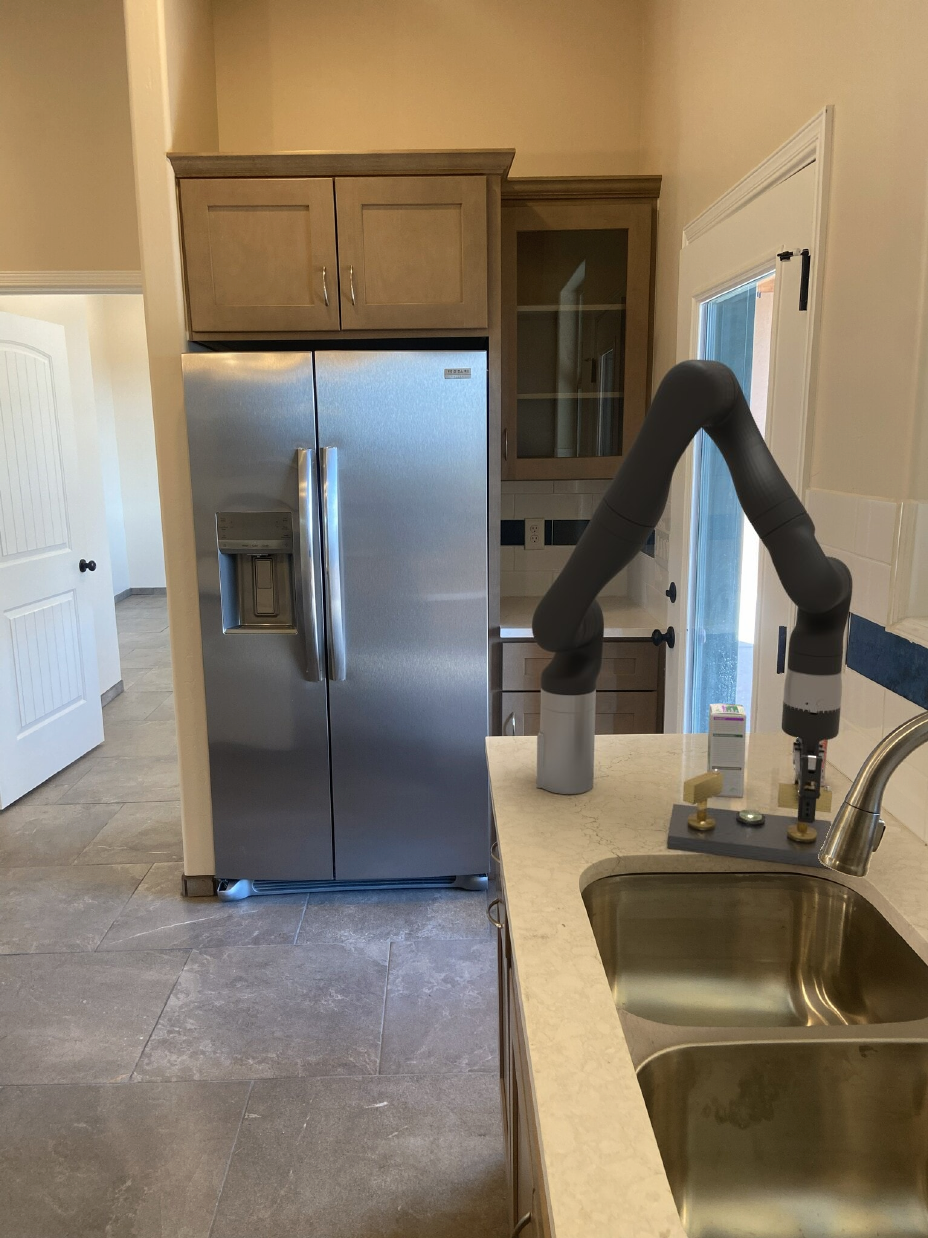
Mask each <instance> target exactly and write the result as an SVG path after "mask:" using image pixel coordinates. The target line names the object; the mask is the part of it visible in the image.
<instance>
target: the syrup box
mask: <svg viewBox="0 0 928 1238" xmlns="http://www.w3.org/2000/svg"><path fill="white" fill-rule="evenodd" d="M746 729H747V714H746V710H745V708H744V705H742V704H736V703H735V704H734V703H710V704H709V714H708V732H707V733H708V734H707V735H708V738H707V739H708V740H707V741H708V742H707V761H706V762H707V764H706V765H707V766H706V773H707V772H710V771H712V770H713V769H718V770H719V772H720V773H723V782H722V793H720V794H718V795H715V796H714V797H725V798H726V797H727V798H741V799H742V798H743V797H744V783H745V764H746V737H747V736H746V734H747V733H746V732H747V731H746Z"/></svg>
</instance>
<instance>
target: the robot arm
mask: <svg viewBox="0 0 928 1238" xmlns="http://www.w3.org/2000/svg"><path fill="white" fill-rule="evenodd" d="M701 429H702V430H703V431H704V432H705V434H707V435H708V437H709V438H710V439H711V440H712V442H713V443H714V444H715V446H716V447H717V448H718V450H719V452H720V453H721V456H722V458H723V459H724V462H725V464H726V465H727V468H728V471H729V474H730V476H731V479H732V483H733V486H734V491H735V493H736V496H737V499H738V502H739V505H740V506H741V508H742V511H743V513H744V514H745V517H746V518H747V520H748V521H749V523H750V525H751V527H752V528H753V530H755V533H756V535H757V536H758V537H759V539H760V540H761V542H762V543H763V545H764V547H765V548H766V549H767V551H768V553H769V556H770V559H771V562H772V564H773V567H774V569H775V572H776V574H777V576H778V580H779V581H780V583H781V586H782V587H783V590H784V592H785V593H786V595H787V596H788V598H789V599H790V600H791V601H792V603H793V604H794V605H795V606H796V607H798V608H797V609H798V611H797V619H796V623H795V626H794V628H793V630H792V631H791V633H790V636H789V642H788V653H787V654H788V655H787V668H786V674H785V679H784V686H783V700H782V714H781V730H782V731H783V732H784V733H785V734H786V735H788V736H790V737H793V738H795V741H793V742H792V765H793V770H794V784H795V785H799V790H798V794H799V803H798V809H797V817H798V821H799V822H804V823H813V822H814V821H815V819H816V812H817V811H816V799H819V796H820V782H821V780H822V763H823V761H824V750H823V744H819V742H820V741H822V740H828V741H829V740H833V739H834V738H837V737H838V735H839V732H840V720H841V710H842V709H841V707H842V696H843V695H842V694H843V693H842V692H843V680H842V670H843V659H844V658H843V656H844V636H845V630H846V626H847V622H848V617H849V613H850V607H851V603H852V596H853V576H852V574H851V573H852V572H851V571H850V569H849V567H848V566H847V564H846V563H845V562H844V561H842V560H840V559H839V558H836V557H833V556H827V555H826V554H825V552H824V550H823V548H822V547H821V545H820V543H819V541H818V539H816V536H815V533H816V527H815V524H814V521H813V519H812V517H811V516H810V514H809V513H808V512H807V511H808V510H806V508H805V506H804V505H803V503H802V501H801V500H800V498H799V497H798V496H797V495H798V494H797V493H796V492H795V491H794V490H793V487H792V486H791V485H790V483H789V481H788V480H787V478H786V476H785V475H784V473H783V472H782V470H781V469H780V467H779V465H778V463H777V462H776V460H775V458H774V456H773V455H772V452H771V451H770V449H769V447H768V445H767V444H766V441H765V439H764V438H763V435H762V434H761V431H760V429H759V427H758V425H757V422H756V421H755V418H754V417H753V413H752V411H751V409H750V407H749V404H748V401H747V399H746V397H745V393H744V392H743V389H742V387H741V384H740V383H739V380H738V377H737V376H736V374H735V373H734V371H733V370H732V369H731V368H730V367H729V366H728V365H727V364H724V363H723V362H721V361H717V360H711V359H710V360H709V359H687V360H683V361H680V362H679V363H677V364H675V365H674V366H672V368H670V369H669V370H668V371H667V373H665V375H664V376H663V378H662V380H661V381H660V384H659V386H658V387H657V389H656V391H655V394H654V396H653V399H652V401H651V404H650V406H649V408H648V411H647V414H646V415H645V418H644V420H643V422H642V425H641V427H640V429H639V432H638V434H637V436H636V438H635V440H634V442H633V444H632V445H631V447H630V449H629V451H628V452H627V454H626V456H625V457H624V459H623V461H622V462H621V464H620V466H619V468H618V470H617V471H616V473H615V475H614V477H613V479H612V481H611V482H610V484H609V486H608V487H607V489H606V491H605V492H604V494H603V495H602V497H601V499H600V501H599V503H598V505H597V507H596V508H595V510H594V512H593V514H592V516H591V518H590V520H589V521H588V524H587V526H586V528H585V530H584V531H583V533H582V535H581V536H580V537H579V540H578V541H577V544H576V545H575V547H574V549H573V551H572V552H571V554H570V556H569V558H568V561H566V564H565V565H564V567H563V569H562V570H561V572H560V573H559V574H558V576H557V577H556V579H555V580H554V582H553V583H552V584H551V586H550V587H549V589H548V590H547V592H546V593H545V594H544V596H543V597H542V598H541V600H540V601H539V602H538V604H537V606H536V608H535V610H534V613H533V615H532V621H531V631H532V636H533V639H534V641H535V643H536V644H537V645H538V646H539V648H541V649H542V650H544V651H547V652H550V653H554V656H553V657H552V659H551V660H550V662H549V663H548V664H547V665H546V666H545V668H543V670H542V672H541V674H540V721H539V722H540V726H539V728H540V729H539V732H538V733H537V738H536V746H537V747H536V788H537V789H543V790H546V791H549V792H551V793H555V794H561V795H577V794H583V793H587V792H588V791H590V790H591V789H592V788H594V778H595V777H594V776H595V772H594V771H595V766H594V764H595V735H596V702H597V701H596V698H597V697H596V696H597V695H596V694H597V691H596V690H597V680H598V678H599V675H600V673H601V668H602V665H603V663H602V662H603V649H604V635H605V619H604V614H603V610H602V607H601V605H600V603H599V602H598V600H597V599H596V598H597V597H598V595H599V594H600V593H601V591H602V590H603V589H604V588H605V587H606V585H607V584H608V583H610V581H612V580H613V579H614V577H616V576H617V575H618V574H619V573H620V572H621V571H623V570H624V569H625V567H627V566H628V565H629V564H630V563H631V562H632V561H633V559H634V558H636V556H637V555H638V554H639V553H640V552H641V551H642V549H643V548H644V547H645V545H646V544H647V542H648V541H649V538H650V537H651V535H652V534H653V532H654V530H655V528H656V526H658V524H659V522H660V520H661V517H662V516H663V514H664V511H665V509H666V506H667V502H668V498H669V492H670V489H671V484H672V480H673V475H674V472H675V469H676V468H677V465H678V463H679V462H680V460H681V458H682V456H683V455H684V453H685V451H686V450H687V448H688V447H689V446H690V443H692V440H694V438H695V436H696V435H697V433H699V431H700V430H701ZM811 782H813V783H814V789H807V788H804V787H805V786H811Z"/></svg>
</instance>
